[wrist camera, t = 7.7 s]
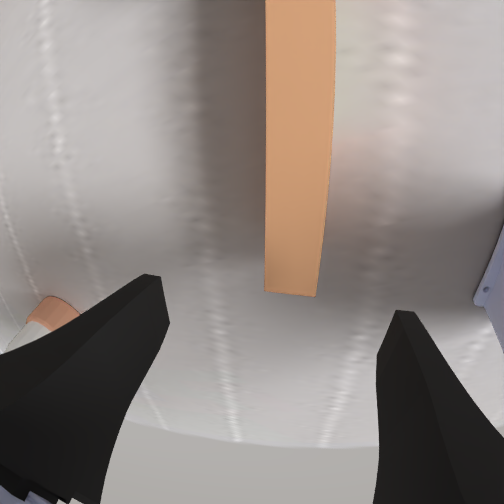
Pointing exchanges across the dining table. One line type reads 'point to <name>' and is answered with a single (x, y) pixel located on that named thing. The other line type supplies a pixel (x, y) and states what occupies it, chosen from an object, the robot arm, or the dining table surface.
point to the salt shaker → (43, 321)
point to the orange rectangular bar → (298, 139)
